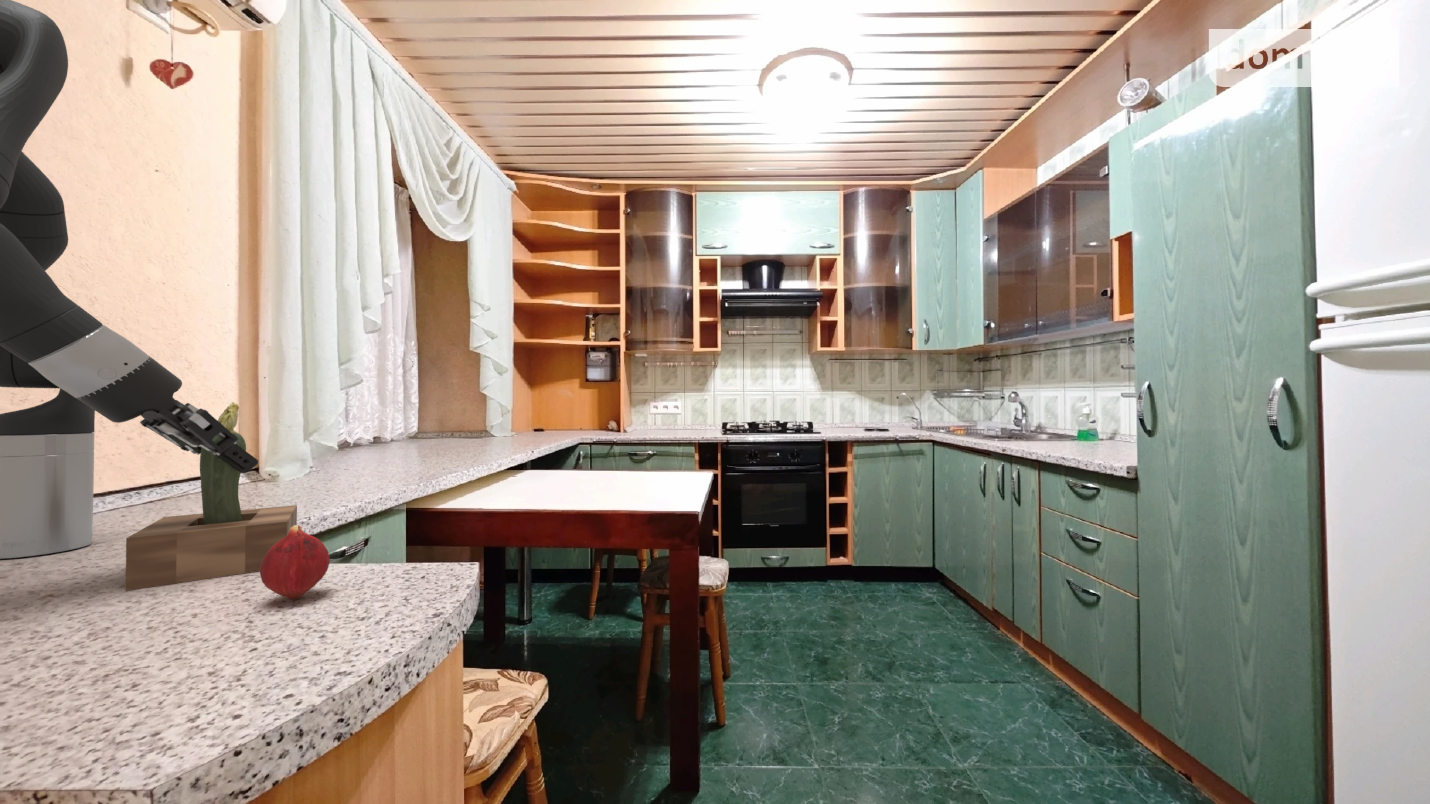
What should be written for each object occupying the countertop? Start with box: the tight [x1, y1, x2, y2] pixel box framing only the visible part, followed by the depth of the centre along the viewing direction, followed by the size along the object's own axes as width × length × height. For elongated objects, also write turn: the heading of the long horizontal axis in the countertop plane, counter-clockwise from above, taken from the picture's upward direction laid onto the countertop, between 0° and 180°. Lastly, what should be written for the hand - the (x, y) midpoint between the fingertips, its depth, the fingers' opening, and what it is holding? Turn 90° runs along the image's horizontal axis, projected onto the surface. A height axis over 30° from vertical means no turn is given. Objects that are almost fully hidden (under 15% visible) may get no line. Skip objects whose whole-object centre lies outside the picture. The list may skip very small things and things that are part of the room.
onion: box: [259, 524, 331, 600], centre depth 54 cm, size 6×6×8 cm
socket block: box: [124, 504, 298, 591], centre depth 66 cm, size 14×14×6 cm
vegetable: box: [199, 401, 247, 525], centre depth 66 cm, size 4×4×20 cm
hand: (242, 466), depth 68 cm, fingers closed on vegetable, 4 cm apart
